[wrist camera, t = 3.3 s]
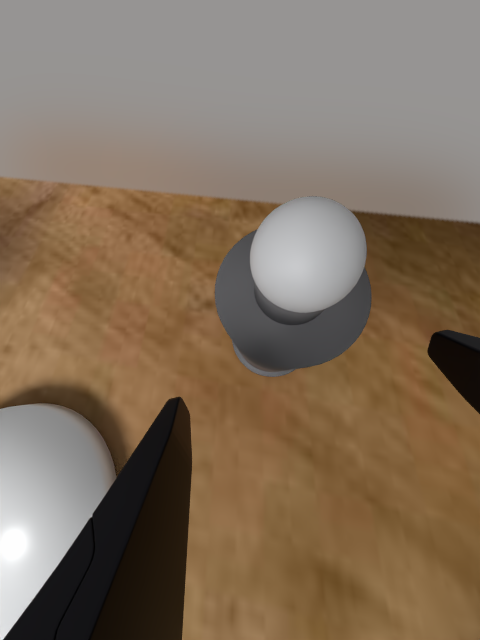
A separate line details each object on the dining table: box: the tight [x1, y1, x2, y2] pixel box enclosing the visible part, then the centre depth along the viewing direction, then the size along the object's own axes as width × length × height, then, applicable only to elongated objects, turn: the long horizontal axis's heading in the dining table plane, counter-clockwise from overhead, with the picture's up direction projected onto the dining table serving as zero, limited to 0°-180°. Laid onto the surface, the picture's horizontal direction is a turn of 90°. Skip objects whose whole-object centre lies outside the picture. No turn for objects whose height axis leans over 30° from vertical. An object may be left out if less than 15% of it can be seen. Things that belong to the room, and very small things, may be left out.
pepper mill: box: [215, 196, 371, 377], centre depth 11 cm, size 6×6×14 cm
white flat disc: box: [0, 403, 117, 640], centre depth 16 cm, size 14×14×2 cm
